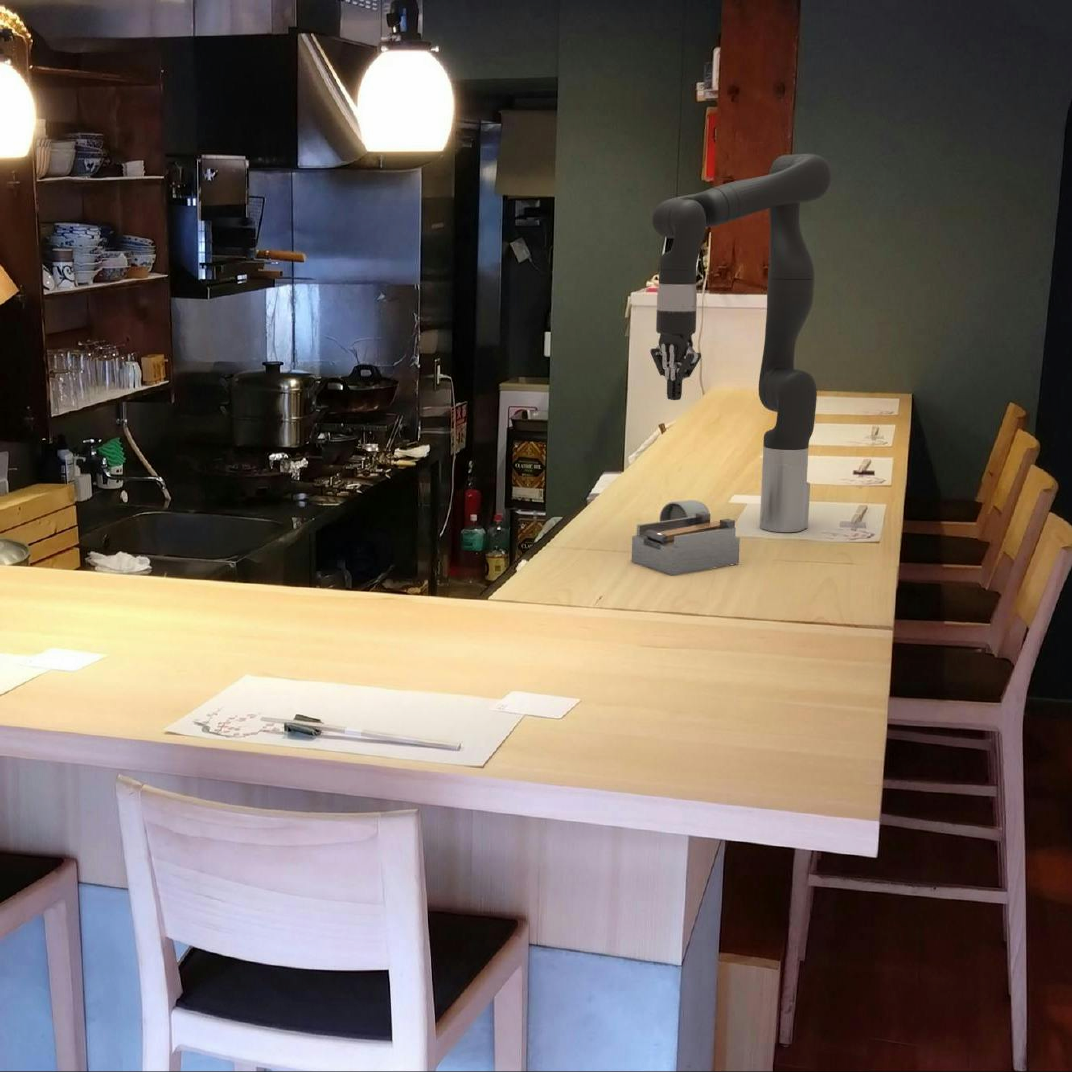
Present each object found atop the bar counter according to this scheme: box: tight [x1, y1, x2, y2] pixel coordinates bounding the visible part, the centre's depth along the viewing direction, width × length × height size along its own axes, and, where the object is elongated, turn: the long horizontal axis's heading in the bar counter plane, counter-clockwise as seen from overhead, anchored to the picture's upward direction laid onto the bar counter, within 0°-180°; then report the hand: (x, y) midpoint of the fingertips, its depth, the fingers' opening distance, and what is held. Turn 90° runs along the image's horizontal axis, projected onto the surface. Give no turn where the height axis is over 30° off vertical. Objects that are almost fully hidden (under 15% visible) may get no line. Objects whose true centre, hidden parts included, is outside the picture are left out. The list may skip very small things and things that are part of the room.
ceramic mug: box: [659, 499, 710, 522], centre depth 274 cm, size 11×8×8 cm
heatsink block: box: [631, 512, 741, 576], centre depth 252 cm, size 16×12×8 cm
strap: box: [646, 520, 720, 543], centre depth 251 cm, size 17×4×2 cm, turn 123°
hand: (673, 399), depth 259 cm, fingers closed
